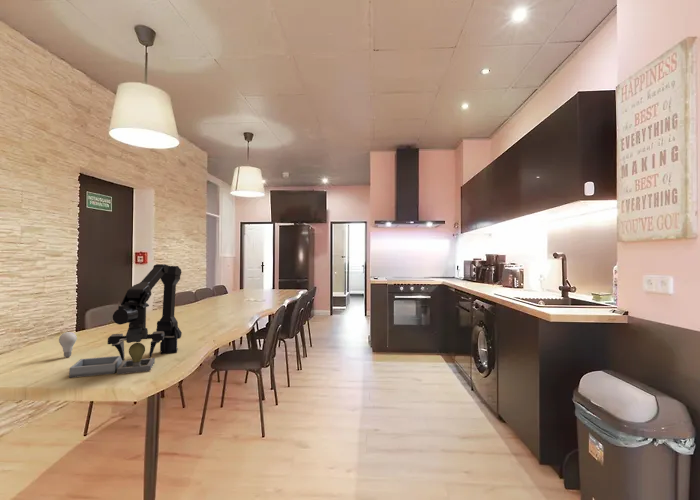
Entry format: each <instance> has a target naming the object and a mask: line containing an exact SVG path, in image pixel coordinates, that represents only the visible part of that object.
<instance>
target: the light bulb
mask: <svg viewBox="0 0 700 500" xmlns="http://www.w3.org/2000/svg"><path fill="white" fill-rule="evenodd" d="M145 352H146V346H145V345H144V344H143V343H141V342H133V344H131V345H130V347H128V355H129V356H130V359H131V360H132V361H133V366H141V365H140V361H141V359H143V357H144V354H145ZM133 366H132V367H133Z"/></svg>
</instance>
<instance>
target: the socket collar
mask: <svg viewBox="0 0 700 500" xmlns="http://www.w3.org/2000/svg"><path fill="white" fill-rule="evenodd" d="M155 359H156V358H155V357H151V358H142V359H141V361H140V366H133V361H132V359H130V360H129V359H128V360H127V359H126V360H124V361H122V363H121V365H120V366H119V367H118V368H117V371H116V375H123V374H132V373H134V374H135V373H142V372H143V371H145V372H150V371H149V370H151V371H152V369H151V368H153V367H152V366H154V365H155V363H156V362H155ZM145 364H146V365H145ZM153 364H154V365H153ZM143 373H144V372H143Z"/></svg>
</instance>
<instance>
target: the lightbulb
mask: <svg viewBox="0 0 700 500" xmlns="http://www.w3.org/2000/svg"><path fill="white" fill-rule="evenodd" d="M77 340H78V337H77V335H76V333H74V332H73V331H66V332H64V333H62V334H60V336H59V338H58V343H59V345H60V346H61V347H62V352H63V357H64V358H70V357H71V356H72V351H73V347H74V345H75V343H76V342H77Z"/></svg>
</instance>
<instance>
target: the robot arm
mask: <svg viewBox="0 0 700 500" xmlns="http://www.w3.org/2000/svg"><path fill="white" fill-rule="evenodd" d="M181 275H182V269H181V267H180V266H179V265H168V264H165V263H157V264H154V265H153V267H152V269H151V270H150V271H149V272H148V273H147V275H146V276H145V277H143V279H142V280H141V281H140V282H139V283H136V284H134V285H132V286H131V287H129V288H128V290H127V291H126V293H125V295H124V297H123V299H122V301H121V303H120V305H118V308H117V309H116V310H115V311H114V313H112V314H113V315H112V320H113V323H115V324H117V325H125V324H128V329H127V331H126V333H125V335H123V333H112V334H111V335H110V336H109V337H107V345H111V347H115V348H116V349H117V352H118V353H119V356H121V358H122V362H123V361H125V342H124V341H126V343H127V344H129V343H141V342H142V340H151V341H150V350H149V356H148V357H149V358H152V357H153V353H154V350H155V347H156V345H157V344H159V343H160V346H159V348H160V349H159V352H160V354H161V355H163V354H172V353H173V354H174V353H177V352H178V350H179V348H178V340H179V339H181V338H182V335H183V332H182V331H181V330H180V328H179V325H178V324H179V323H178V320H177V319H176V317H175V309H176V308H175V307H176V305H175V304H176V288H177V284H178V283H179V281H180V280H181V277H182V276H181ZM159 281H161V282H162V284H163V298H162V311H161V312H162V314H161V318H160V319H159V320H158V321H157V322H156V329H155V330H154V331H153V332H152V333H149V329H148V328H147V308H148V307H149V306H150V304H148V303H147V302H148V301H149V299H150V297H151V296H152V289H153V288H154V287H155V286H156V284H157V283H158V282H159ZM149 358H148V359H149Z"/></svg>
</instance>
